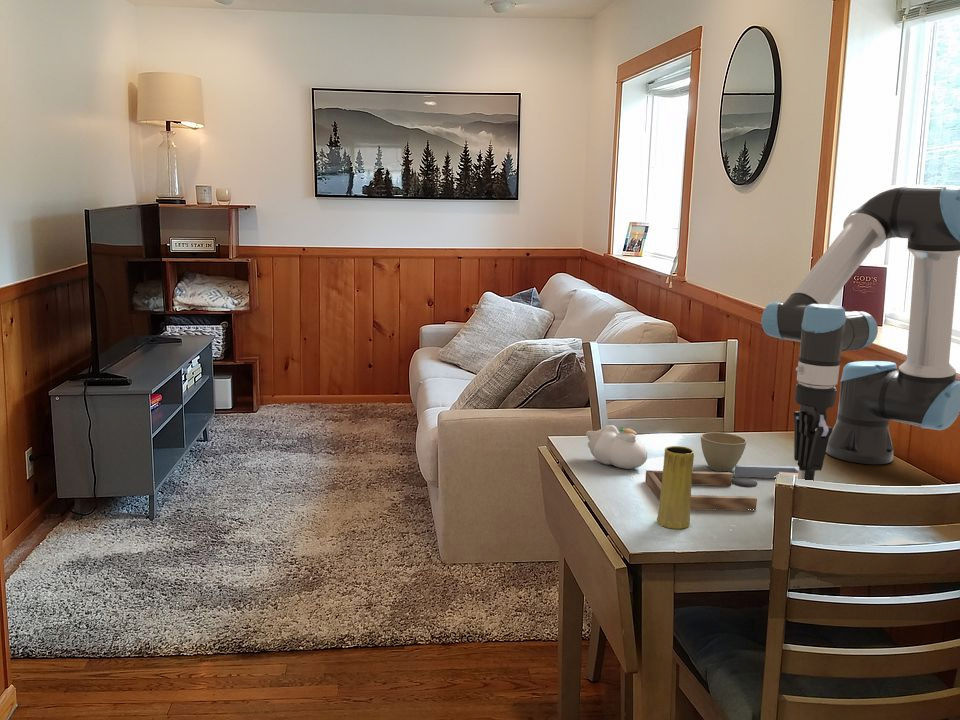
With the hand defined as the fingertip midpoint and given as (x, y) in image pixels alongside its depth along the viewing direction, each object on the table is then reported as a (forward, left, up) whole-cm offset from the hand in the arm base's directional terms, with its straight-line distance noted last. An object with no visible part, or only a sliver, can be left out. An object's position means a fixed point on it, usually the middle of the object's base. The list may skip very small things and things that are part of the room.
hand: (803, 500), depth 181 cm
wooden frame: (+19, -6, -2) cm, 20 cm away
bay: (0, -15, -2) cm, 15 cm away
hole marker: (+7, -15, -2) cm, 17 cm away
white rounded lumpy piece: (+33, -26, -2) cm, 42 cm away
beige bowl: (+9, -25, -2) cm, 27 cm away
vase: (+29, +10, -2) cm, 30 cm away
